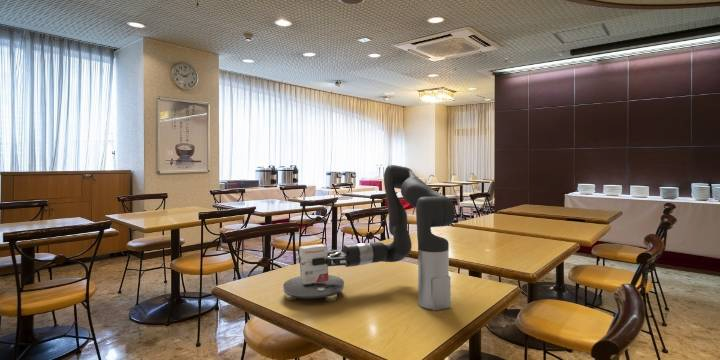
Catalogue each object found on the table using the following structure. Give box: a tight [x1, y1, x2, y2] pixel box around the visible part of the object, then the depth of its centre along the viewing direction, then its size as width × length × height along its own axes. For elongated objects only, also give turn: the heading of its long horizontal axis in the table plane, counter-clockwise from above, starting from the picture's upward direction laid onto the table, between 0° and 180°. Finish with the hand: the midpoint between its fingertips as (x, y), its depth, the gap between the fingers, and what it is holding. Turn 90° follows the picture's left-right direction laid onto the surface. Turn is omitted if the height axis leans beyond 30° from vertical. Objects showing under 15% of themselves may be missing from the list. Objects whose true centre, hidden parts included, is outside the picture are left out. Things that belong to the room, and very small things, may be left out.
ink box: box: [298, 243, 329, 284], centre depth 126 cm, size 9×5×12 cm, turn 112°
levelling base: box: [282, 274, 345, 303], centre depth 127 cm, size 20×20×5 cm
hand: (310, 260), depth 126 cm, fingers open, 5 cm apart
